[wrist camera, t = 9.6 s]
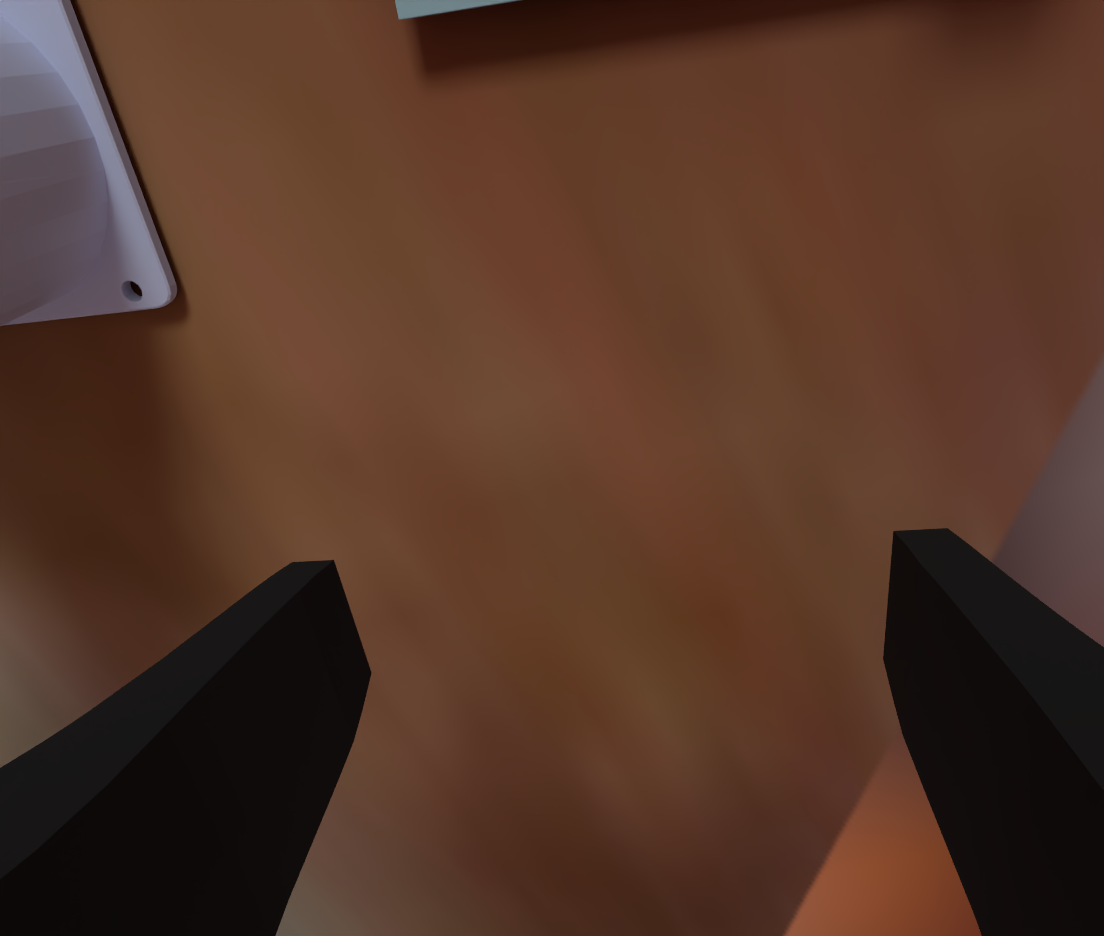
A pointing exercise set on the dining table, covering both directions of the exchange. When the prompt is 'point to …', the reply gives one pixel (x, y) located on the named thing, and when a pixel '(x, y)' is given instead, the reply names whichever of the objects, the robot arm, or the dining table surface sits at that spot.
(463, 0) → the lid
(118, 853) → the robot arm
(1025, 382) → the dining table surface
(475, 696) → the dining table surface
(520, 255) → the dining table surface
